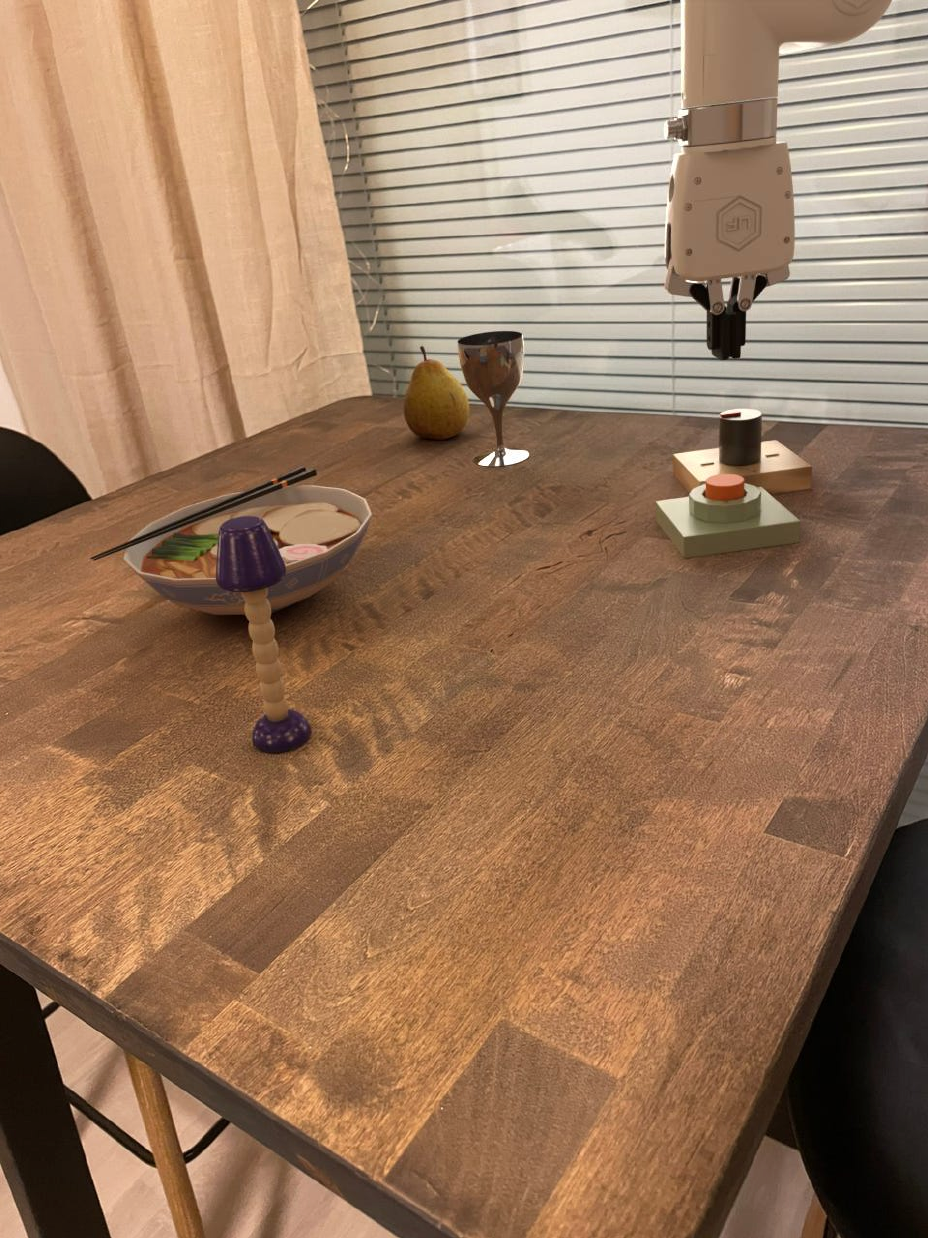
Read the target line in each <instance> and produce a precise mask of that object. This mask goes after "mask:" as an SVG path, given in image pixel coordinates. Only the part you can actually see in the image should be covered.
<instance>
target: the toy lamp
mask: <svg viewBox="0 0 928 1238" xmlns="http://www.w3.org/2000/svg"><path fill="white" fill-rule="evenodd" d="M285 575H286V566H285V563H284V561H283V559H282V556H281V554H280V552H279V550H278V548H277V546H276V543H275V541H274V539H273V537H272V535H271V533H270V531H269V529H268V527H267V525H266V523H265V522H264V520H263V519H261V518H259V517H256V516H242V517H237V518H233V519H230V520H227V521H225V522H224V523H223V524H222V525H221V526H220V529H219V535H218V547H217V562H216V581H217V584H218V586H219V587H221V588H222V589H224V590H227V591H231V592H241V595H242V597H243V599H244V600H245V601H246V602H245V606H244V610H245V615H244V616H245V617H246V619H247V621H249V623H248V628H247V629H248V635H249V637H250V639H251V640H252V641H253V642H252V645H251V651H252V655H253V657H254V660H255V661H256V664H255V673H256V675H257V677H258V679H259V680H260V682H259V692H260V695H261V697H262V699H263V703H262V706H263V707H262V708H263V712H264V714H263V715H262V716H261V717H260V718H259V719H258V720H257V722H256V723H255V725H254V727H253V731H252V744H253V746H254V747H255V748H256V749H257V750H259V751H262V752H265V753H274V754H275V753H285V752H288V751H292V750H295V749H296V748H298V747H300V746H302V745H303V744H305V743H306V742H307V741H308V740H309V738H310V736H311V734H312V728H311V725H310V722H309V721H308V720H307V718H306V717H305V715H303V714H302V713H301V712H299V711H297V710H294V709H291V708H289V703H288V700H287V698H286V696H285V694H286V684H285V682H284V680H283V678H282V675H283V666H282V662H281V661H280V659H279V645H278V642H277V640H276V639H275V635H276V629H275V625H274V621H273V620H272V619H271V617H272V613H271V606H270V603H269V601H268V600H267V599H266V597H267V593H268V590H267V588H268V587H270V586H273V585H275V584H277V583H278V582H280V581H281V580H282V579H283V578H284V577H285Z"/></svg>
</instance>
